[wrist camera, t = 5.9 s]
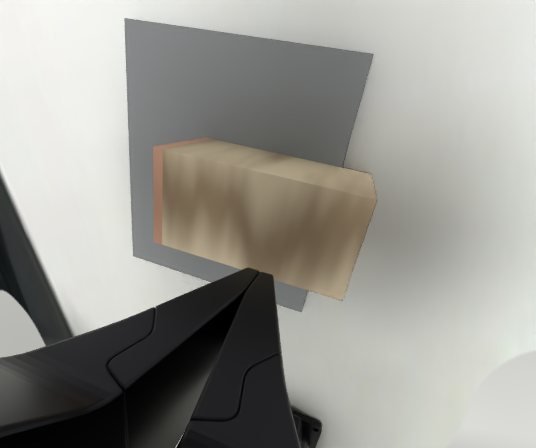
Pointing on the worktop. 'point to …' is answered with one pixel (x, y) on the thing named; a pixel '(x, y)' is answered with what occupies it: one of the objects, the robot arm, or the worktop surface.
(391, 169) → the worktop surface
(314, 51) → the mat
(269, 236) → the pine block
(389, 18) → the worktop surface
